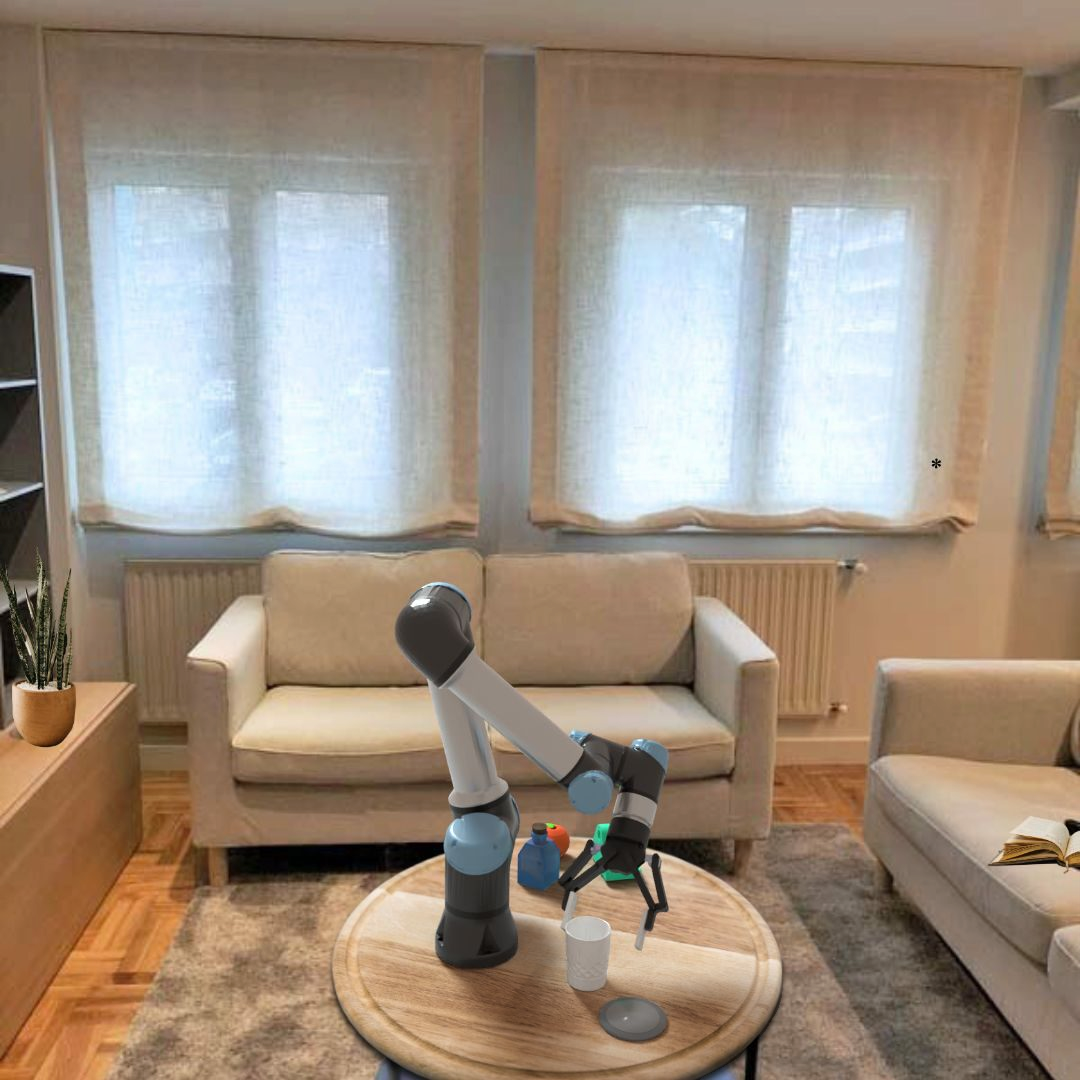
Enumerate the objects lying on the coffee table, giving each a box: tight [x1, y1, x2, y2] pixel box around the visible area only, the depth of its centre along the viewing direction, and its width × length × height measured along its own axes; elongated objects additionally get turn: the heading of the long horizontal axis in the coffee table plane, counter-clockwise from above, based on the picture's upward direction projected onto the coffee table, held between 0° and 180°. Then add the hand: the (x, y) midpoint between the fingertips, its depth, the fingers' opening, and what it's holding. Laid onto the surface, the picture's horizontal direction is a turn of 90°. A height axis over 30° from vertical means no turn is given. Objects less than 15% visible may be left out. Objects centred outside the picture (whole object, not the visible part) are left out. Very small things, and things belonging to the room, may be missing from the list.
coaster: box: [598, 996, 667, 1042], centre depth 186 cm, size 11×11×1 cm
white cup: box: [564, 915, 612, 992], centre depth 196 cm, size 8×8×10 cm
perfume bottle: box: [516, 821, 561, 892], centre depth 230 cm, size 6×6×12 cm
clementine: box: [545, 822, 571, 858], centre depth 241 cm, size 8×7×7 cm
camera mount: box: [592, 823, 642, 882], centre depth 235 cm, size 12×8×10 cm, turn 12°
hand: (600, 939), depth 197 cm, fingers open, 13 cm apart
